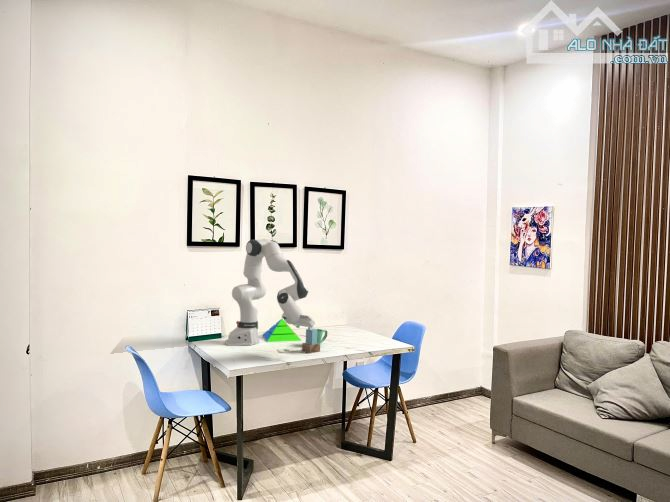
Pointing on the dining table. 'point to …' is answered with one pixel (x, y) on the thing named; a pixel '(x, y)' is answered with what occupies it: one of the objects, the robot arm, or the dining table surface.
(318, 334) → the mug
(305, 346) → the base block
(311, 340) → the teal brick
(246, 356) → the dining table surface
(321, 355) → the dining table surface
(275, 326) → the pyramid toy
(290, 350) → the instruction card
